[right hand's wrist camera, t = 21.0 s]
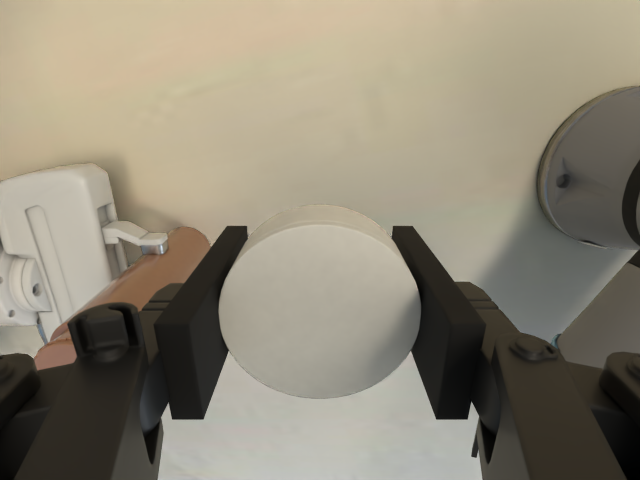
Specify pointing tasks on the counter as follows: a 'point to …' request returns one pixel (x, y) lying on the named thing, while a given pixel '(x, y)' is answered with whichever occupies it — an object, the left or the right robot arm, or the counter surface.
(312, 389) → the lid
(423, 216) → the counter surface
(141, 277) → the tan brown cylinder
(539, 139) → the counter surface
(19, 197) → the left robot arm
